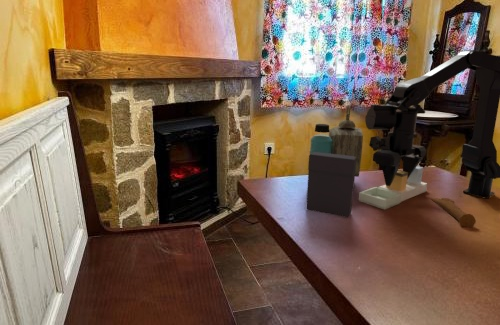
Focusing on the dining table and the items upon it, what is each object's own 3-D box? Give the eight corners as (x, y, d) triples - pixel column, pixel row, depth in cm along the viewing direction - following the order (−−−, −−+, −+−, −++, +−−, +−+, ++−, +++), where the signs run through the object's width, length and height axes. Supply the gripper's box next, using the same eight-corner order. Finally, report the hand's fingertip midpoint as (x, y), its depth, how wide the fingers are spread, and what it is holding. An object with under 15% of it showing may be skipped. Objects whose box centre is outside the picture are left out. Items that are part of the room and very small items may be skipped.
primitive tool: (429, 199, 102) (431, 188, 101) (449, 200, 101) (451, 189, 100) (459, 228, 84) (461, 215, 83) (483, 230, 83) (486, 216, 82)
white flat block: (404, 185, 113) (405, 177, 112) (426, 191, 108) (427, 183, 107) (378, 194, 104) (379, 186, 103) (400, 201, 99) (401, 193, 98)
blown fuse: (390, 191, 106) (393, 168, 104) (405, 196, 102) (408, 172, 100) (384, 193, 104) (387, 170, 102) (399, 198, 100) (402, 174, 98)
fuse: (405, 186, 111) (408, 164, 109) (419, 190, 108) (423, 167, 106) (400, 188, 109) (403, 165, 107) (415, 192, 106) (418, 169, 104)
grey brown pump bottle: (357, 191, 106) (366, 108, 100) (327, 189, 108) (333, 106, 101) (352, 177, 120) (360, 103, 114) (325, 175, 122) (331, 102, 115)
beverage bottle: (332, 188, 108) (337, 123, 103) (324, 194, 103) (329, 126, 98) (312, 184, 112) (316, 121, 106) (303, 190, 106) (307, 124, 101)
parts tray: (374, 194, 104) (375, 186, 103) (400, 203, 98) (401, 194, 97) (358, 200, 99) (359, 192, 98) (384, 209, 93) (385, 200, 92)
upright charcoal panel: (351, 212, 90) (357, 155, 87) (348, 218, 87) (354, 159, 83) (309, 205, 95) (313, 150, 91) (305, 210, 91) (308, 154, 87)
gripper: (394, 122, 110) (388, 171, 114) (358, 128, 98) (353, 181, 102) (430, 128, 101) (422, 179, 105) (396, 134, 90) (388, 192, 94)
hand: (396, 182), depth 102 cm, fingers open, 9 cm apart
